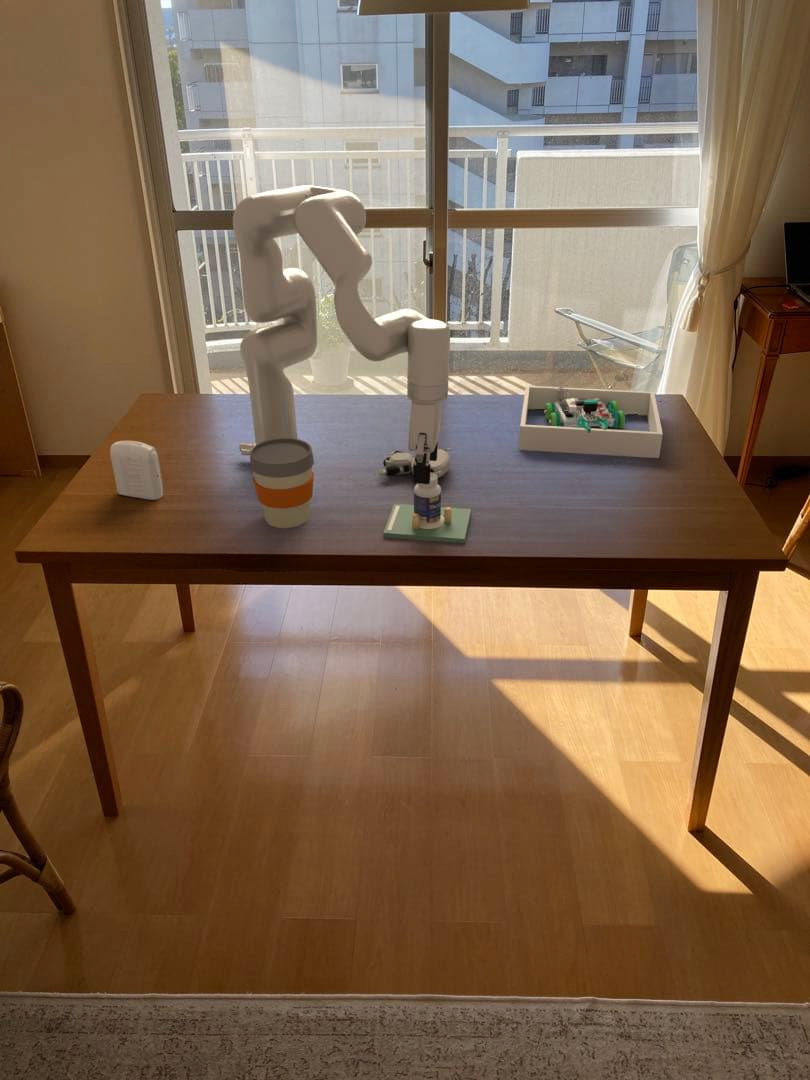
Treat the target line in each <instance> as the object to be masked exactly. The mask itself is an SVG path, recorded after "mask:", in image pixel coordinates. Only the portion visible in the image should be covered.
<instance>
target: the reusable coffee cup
mask: <svg viewBox="0 0 810 1080" xmlns="http://www.w3.org/2000/svg"><path fill="white" fill-rule="evenodd" d="M249 460H250V461H249V464H250V465H249V466H250V469H251V471H252V472H253V477H252V480H253V481H252V482H253V485H254V488H255V493H256V496H257V500H258V501H259V503H260V505H261V508H262V510H263V511H262V512H263V515H264V518H265V522H266V523H267V524H268V525H269V526H271V527H274V528H277V529H278V528H279V529H290V528H296V527H299V526H302V525H303V524H305V523H306V522H307V521H308V520H309V519H310V518H309V517H310V511H311V510H310V508H311V507H310V506H311V499H312V497H313V491H314V480H315V479H314V475H315V474H314V471H313V466H314V464H315V458H314V454H313V448H312V446H311V444H310V443H309V442H307V441H305V440H302V439H299V438H297V439H294V438H276V439H270V440H266V441H263V442H261V443H259V444H257V445H255V446H254V447H253V448H252V449H251V451H250V455H249Z"/></svg>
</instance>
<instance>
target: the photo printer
mask: <svg viewBox="0 0 810 1080" xmlns="http://www.w3.org/2000/svg"><path fill="white" fill-rule="evenodd" d="M109 449H110V451H109V454H110V460H111V465H112V470H113V471H112V472H113V475H114V480H115V486H116V491H117V494H118V495H122V496H126V497H133V498H139V499H143V500H152V501H157V500H160V499H161V498H162V497H163V495H164V486H163V485H164V484H163V480H162V478H163V477H162V472H161V466H160V460H159V453H158V451H157V449H156V448H155V447H154V446H152V445H149V444H146V443H144V442H140V441H137V440H136V441H135V440H120V441H115V442H113V444H111V446H110V448H109Z"/></svg>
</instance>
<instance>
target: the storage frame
mask: <svg viewBox="0 0 810 1080" xmlns="http://www.w3.org/2000/svg"><path fill="white" fill-rule="evenodd" d="M559 387H560V386H542V385H541V386H540V385H539V386H538V385H525V390H524V397H523V402H522V403H523V405H522V409H521V410H522V411H521V418H520V419H521V420H520V424H519V427H520V428H519V440H518V441H519V442H518V450H519V451H533V452H551V453H565V454H581V455H584V454H585V455H601V456H616V457H617V456H618V457H633V458H648V459H649V458H651V459H660V455H661V447H662V442H663V435H664V434H663V428H662V424H661V418H660V413H659V410H658V409H659V408H658V405H657V404H658V403H657V399H656V393H655V391H646V390H645V391H644V390H643V391H642V390H641V391H640V390H624V389H623V390H622V389H621V390H620V389H602V388H601V389H600V388H599V389H598V388H583V387H563V388H564V389H568V390H565V391H568V392H569V398H568V399H571V398H589V399H590V400H593V399H594V398H599V399H600V401H602V402H603V404H604V405H605V407H606V409H607V403H608V402H612V401H616V402H617V404H618V411H623V412H624V413H627V414H626V415H628V414H638V415H637V416H646V417H647V422H648V427H649V431H645V430H643V431H642V430H630V429H629V430H628V429H625V430H623V429H608V428H607V429H606V430H603V428H594V427H593V428H592V427H590V428H591V433H587V432H588V430H587V429H585V428H580V427H564V426H560V427H557V426H550V425H535V424H527V421H528V413H529V410H534V409H545V405H546V404H547V403H550V404H552V403H554V404H555V402H558V403H562V400H561V401H560V400H558V399H557V398H556V390H557V389H558V388H559ZM566 399H567V398H566ZM559 405H560V404H559ZM561 406H562V405H561ZM564 406H565V405H564ZM562 407H563V406H562ZM565 407H566V406H565ZM565 410H567V409H565Z"/></svg>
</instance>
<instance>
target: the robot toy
mask: <svg viewBox="0 0 810 1080" xmlns="http://www.w3.org/2000/svg"><path fill="white" fill-rule="evenodd" d="M451 450H452V447H449V448H446V449H441V448H440V449H439V448H437V460H436V461H429V464H431V467H430V472H431V473H434V474H436V475H437V477H438V479H439V478H441V477H443V476H444V475H445V474H446V473H447V472H448V471H449V469H450V466H451V465H450V462H451V461H450V454H449V453H448V452H447V451H451ZM414 457H415V455H413V454H412V453H410V452H409V453H408V452H405V451H401V450H395V451H391V452H389V453H388V456H386V458H385V459H384V460H383V467H385V469H380V470H379V475H380V476H385V475H386V476H387V477H391V476H392V477H393V476H401V475H407V474H408V475H409V474H410V473H412V475H413V464H414Z"/></svg>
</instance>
